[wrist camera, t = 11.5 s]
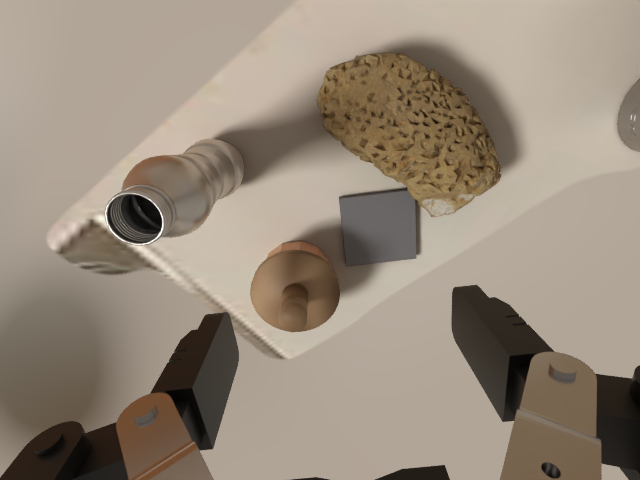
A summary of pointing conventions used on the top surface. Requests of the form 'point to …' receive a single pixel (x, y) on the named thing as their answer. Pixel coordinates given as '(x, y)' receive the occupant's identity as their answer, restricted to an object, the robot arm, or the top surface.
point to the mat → (378, 227)
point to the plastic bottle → (174, 192)
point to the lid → (295, 290)
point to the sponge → (410, 128)
